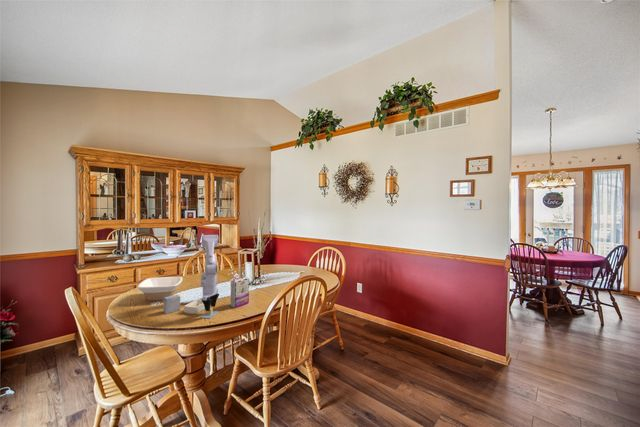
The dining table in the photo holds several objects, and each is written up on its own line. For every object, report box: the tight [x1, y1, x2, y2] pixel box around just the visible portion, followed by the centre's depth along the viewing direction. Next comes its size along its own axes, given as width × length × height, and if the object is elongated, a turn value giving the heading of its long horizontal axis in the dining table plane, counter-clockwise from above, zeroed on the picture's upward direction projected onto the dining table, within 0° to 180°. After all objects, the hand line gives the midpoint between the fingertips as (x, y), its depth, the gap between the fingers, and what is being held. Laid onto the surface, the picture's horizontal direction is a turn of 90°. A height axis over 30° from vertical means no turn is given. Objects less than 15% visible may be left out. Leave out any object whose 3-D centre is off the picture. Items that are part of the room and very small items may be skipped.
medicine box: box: [162, 294, 181, 315], centre depth 160 cm, size 8×4×9 cm, turn 141°
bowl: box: [137, 276, 183, 302], centre depth 183 cm, size 24×25×11 cm
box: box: [183, 298, 205, 315], centre depth 164 cm, size 12×8×4 cm, turn 167°
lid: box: [199, 307, 220, 320], centre depth 157 cm, size 10×6×4 cm, turn 174°
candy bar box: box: [230, 276, 250, 309], centre depth 174 cm, size 11×5×16 cm, turn 149°
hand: (210, 308), depth 157 cm, fingers open, 6 cm apart
